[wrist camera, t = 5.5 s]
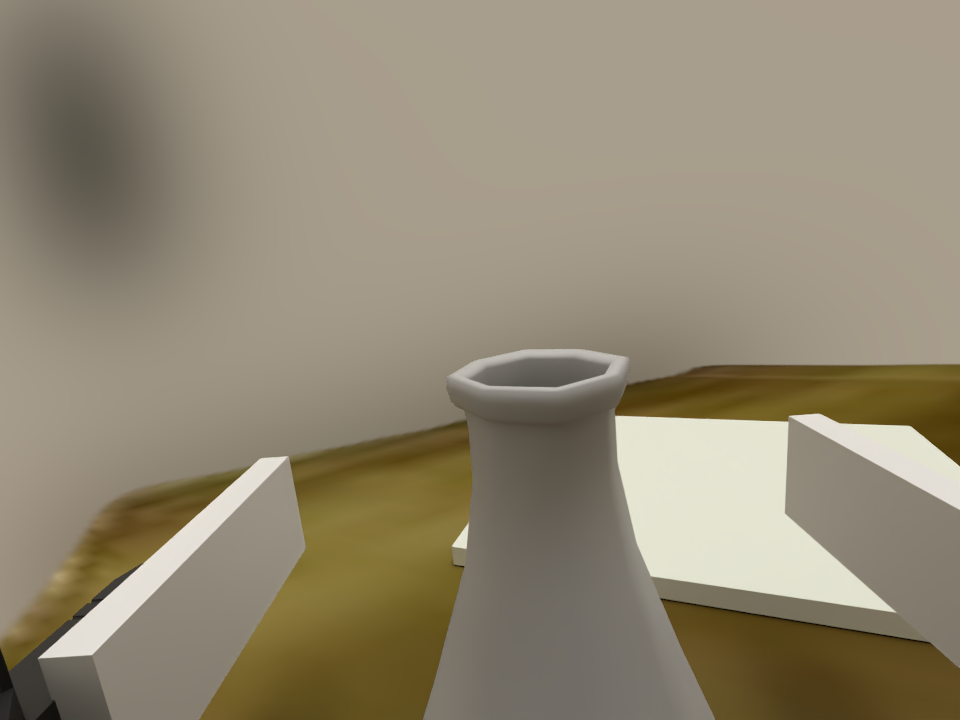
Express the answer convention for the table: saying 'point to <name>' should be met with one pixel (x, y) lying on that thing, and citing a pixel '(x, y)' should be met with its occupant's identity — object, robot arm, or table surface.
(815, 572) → the white rectangular board
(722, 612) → the table surface
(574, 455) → the flask
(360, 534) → the table surface
